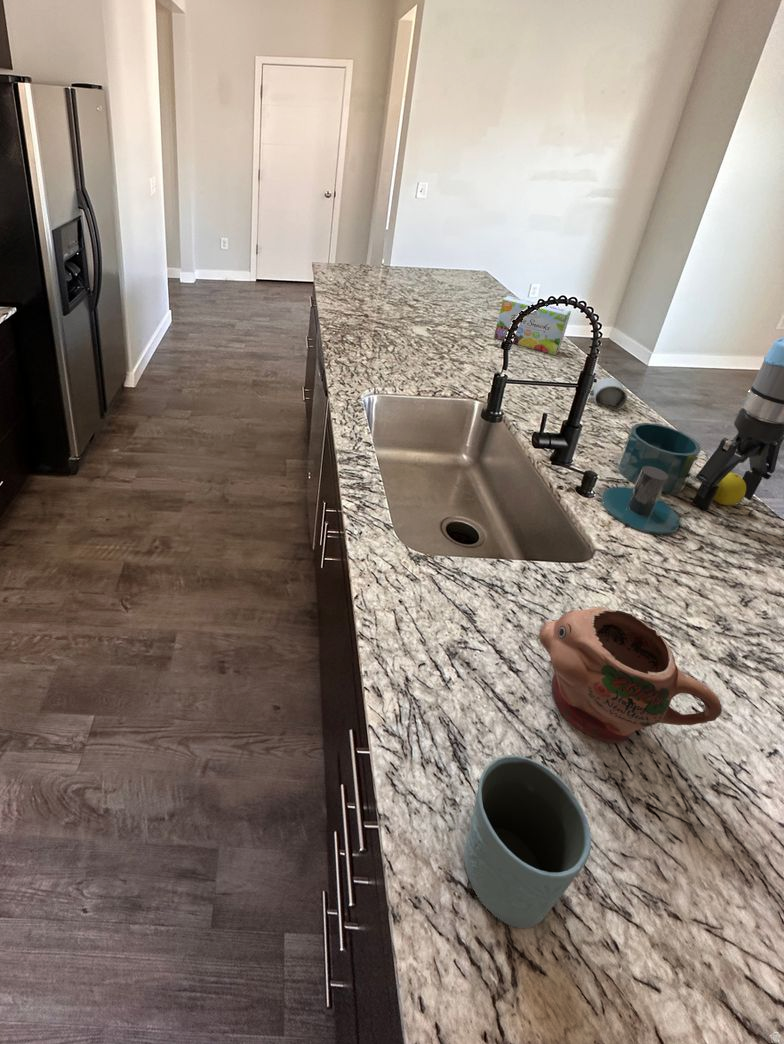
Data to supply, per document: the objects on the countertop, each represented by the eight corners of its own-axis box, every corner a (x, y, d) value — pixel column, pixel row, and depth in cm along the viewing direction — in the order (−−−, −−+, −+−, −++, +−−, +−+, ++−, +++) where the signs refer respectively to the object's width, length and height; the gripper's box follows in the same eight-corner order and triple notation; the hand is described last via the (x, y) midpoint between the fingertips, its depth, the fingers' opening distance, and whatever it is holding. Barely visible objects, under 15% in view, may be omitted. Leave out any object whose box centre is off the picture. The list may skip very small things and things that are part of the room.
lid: (694, 530, 106) (714, 489, 101) (640, 542, 102) (659, 500, 98) (635, 487, 118) (651, 448, 113) (585, 496, 114) (599, 457, 110)
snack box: (492, 338, 193) (502, 298, 186) (498, 334, 197) (507, 294, 190) (555, 356, 180) (567, 314, 174) (560, 351, 184) (572, 309, 178)
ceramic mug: (617, 401, 153) (626, 377, 150) (622, 414, 146) (631, 389, 143) (576, 393, 157) (583, 370, 153) (579, 406, 150) (586, 382, 147)
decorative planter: (683, 707, 74) (723, 639, 68) (700, 798, 64) (749, 728, 58) (526, 644, 82) (550, 577, 76) (520, 716, 72) (547, 646, 66)
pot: (696, 490, 117) (715, 451, 113) (651, 499, 114) (669, 459, 110) (646, 457, 128) (661, 420, 124) (604, 464, 125) (618, 426, 120)
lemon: (697, 495, 116) (712, 464, 113) (723, 496, 116) (739, 466, 112) (716, 512, 111) (731, 481, 108) (743, 514, 111) (759, 482, 107)
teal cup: (463, 923, 53) (489, 863, 48) (450, 805, 62) (470, 744, 57) (571, 949, 52) (609, 890, 47) (542, 825, 61) (571, 764, 56)
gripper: (787, 399, 110) (743, 484, 120) (700, 411, 104) (661, 500, 114) (830, 418, 104) (779, 506, 113) (740, 432, 98) (694, 524, 107)
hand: (720, 503), depth 113 cm, fingers open, 11 cm apart
